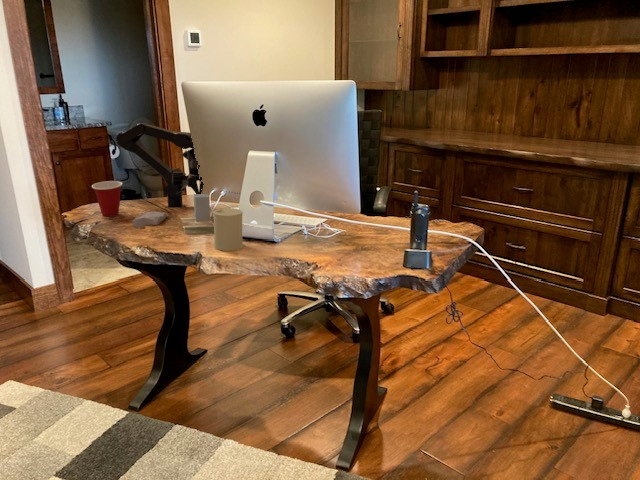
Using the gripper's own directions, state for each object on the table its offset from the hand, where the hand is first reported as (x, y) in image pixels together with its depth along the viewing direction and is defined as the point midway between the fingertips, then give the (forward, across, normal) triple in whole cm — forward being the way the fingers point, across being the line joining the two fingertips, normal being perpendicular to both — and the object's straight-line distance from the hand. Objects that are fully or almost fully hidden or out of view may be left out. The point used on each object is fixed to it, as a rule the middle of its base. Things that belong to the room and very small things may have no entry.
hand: (199, 197), depth 195 cm
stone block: (+9, -19, +3) cm, 21 cm away
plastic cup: (-2, -32, +14) cm, 35 cm away
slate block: (+10, 0, 0) cm, 10 cm away
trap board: (+15, 0, -4) cm, 16 cm away
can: (+32, +5, -20) cm, 38 cm away
